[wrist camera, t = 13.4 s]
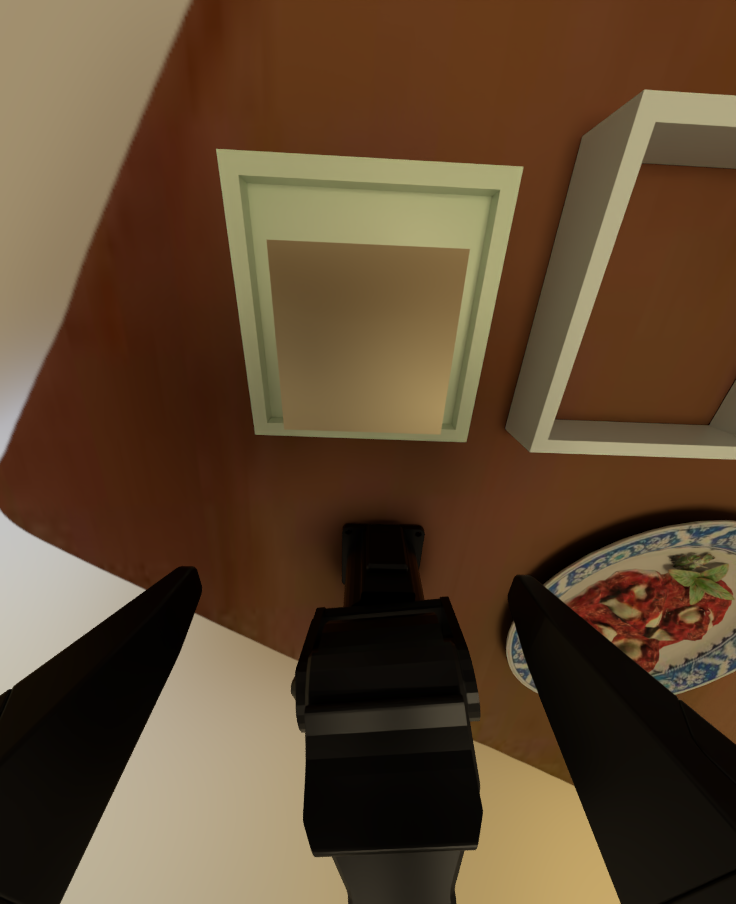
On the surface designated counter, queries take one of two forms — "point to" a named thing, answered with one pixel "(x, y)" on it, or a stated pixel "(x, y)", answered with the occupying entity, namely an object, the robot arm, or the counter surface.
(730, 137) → the frame
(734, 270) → the counter surface
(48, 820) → the robot arm
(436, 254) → the birch peg
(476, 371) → the tray
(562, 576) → the ceramic plate
